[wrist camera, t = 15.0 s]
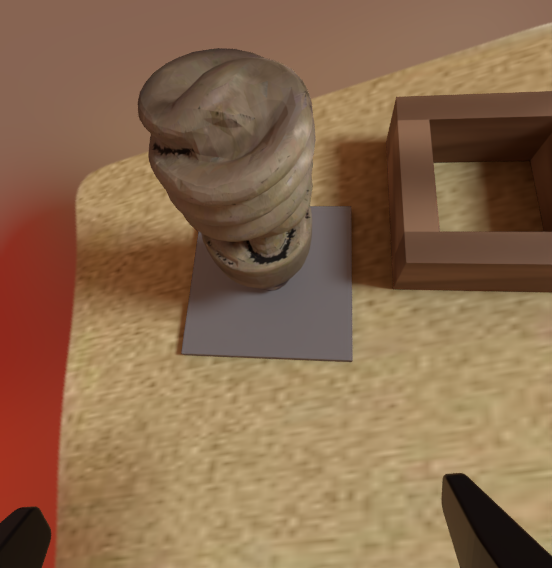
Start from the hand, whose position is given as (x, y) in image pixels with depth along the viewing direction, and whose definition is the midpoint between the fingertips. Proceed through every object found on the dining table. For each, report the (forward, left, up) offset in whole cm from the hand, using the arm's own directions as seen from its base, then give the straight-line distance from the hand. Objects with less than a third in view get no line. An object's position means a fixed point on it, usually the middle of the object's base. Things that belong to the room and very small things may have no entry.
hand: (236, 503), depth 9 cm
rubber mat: (+11, +2, -14) cm, 17 cm away
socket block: (+16, -11, -14) cm, 24 cm away
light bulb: (+10, +1, -13) cm, 17 cm away
